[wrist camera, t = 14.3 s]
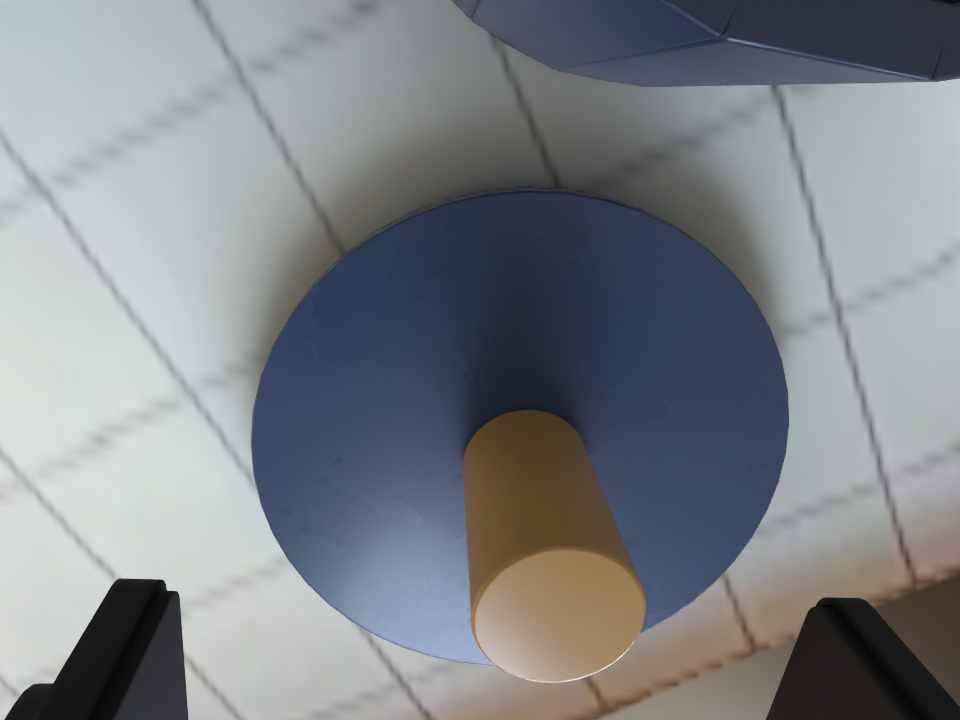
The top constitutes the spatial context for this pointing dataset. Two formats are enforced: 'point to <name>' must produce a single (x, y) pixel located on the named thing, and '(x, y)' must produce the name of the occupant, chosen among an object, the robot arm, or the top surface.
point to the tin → (732, 39)
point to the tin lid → (520, 429)
